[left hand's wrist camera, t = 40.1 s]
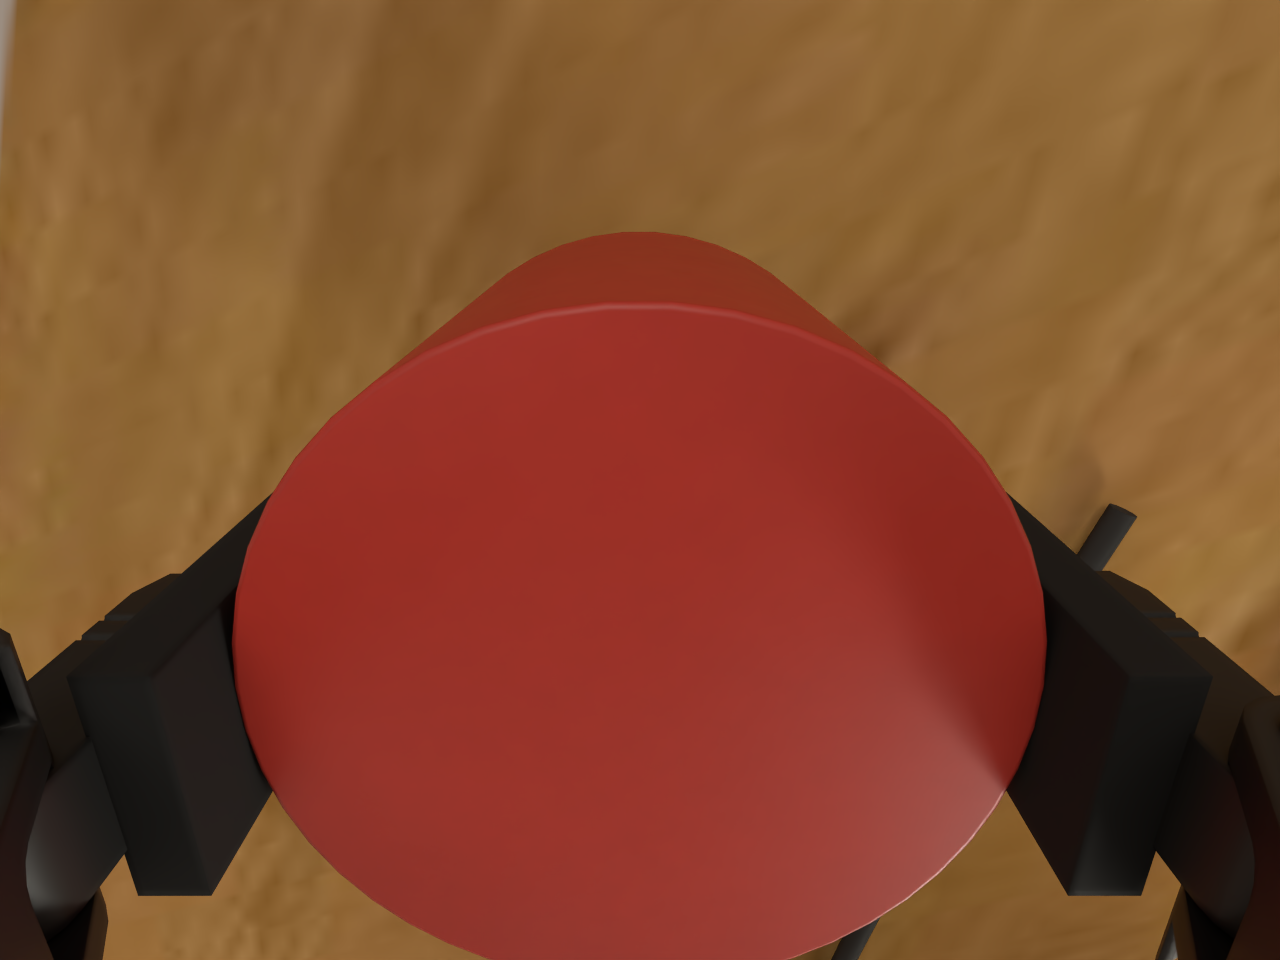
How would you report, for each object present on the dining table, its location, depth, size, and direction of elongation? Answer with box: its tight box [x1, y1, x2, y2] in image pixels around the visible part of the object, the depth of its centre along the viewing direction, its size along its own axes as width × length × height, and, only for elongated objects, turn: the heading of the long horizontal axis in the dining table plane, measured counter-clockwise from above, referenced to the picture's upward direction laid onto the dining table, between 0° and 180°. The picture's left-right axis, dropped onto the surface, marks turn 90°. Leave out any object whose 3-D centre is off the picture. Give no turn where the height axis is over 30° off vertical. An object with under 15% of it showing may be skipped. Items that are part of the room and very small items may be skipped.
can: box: [232, 232, 1047, 960], centre depth 12 cm, size 9×9×8 cm
